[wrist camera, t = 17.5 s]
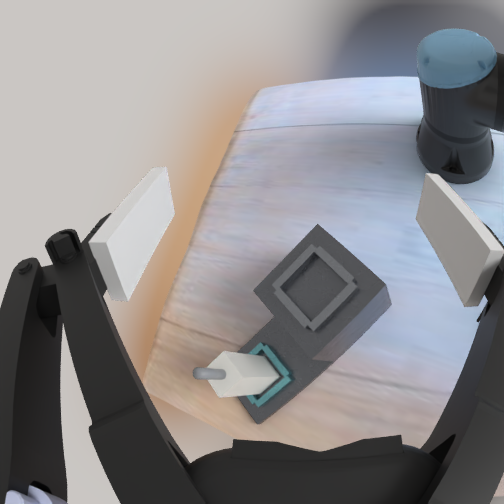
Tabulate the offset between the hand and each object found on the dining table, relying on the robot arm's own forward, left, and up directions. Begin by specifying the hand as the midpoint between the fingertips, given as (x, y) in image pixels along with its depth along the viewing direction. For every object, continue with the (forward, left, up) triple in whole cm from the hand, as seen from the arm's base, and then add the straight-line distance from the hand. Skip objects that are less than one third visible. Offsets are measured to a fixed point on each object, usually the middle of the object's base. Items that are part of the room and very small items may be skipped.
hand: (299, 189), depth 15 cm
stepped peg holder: (-1, -13, -35) cm, 37 cm away
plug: (+2, -20, -34) cm, 40 cm away
